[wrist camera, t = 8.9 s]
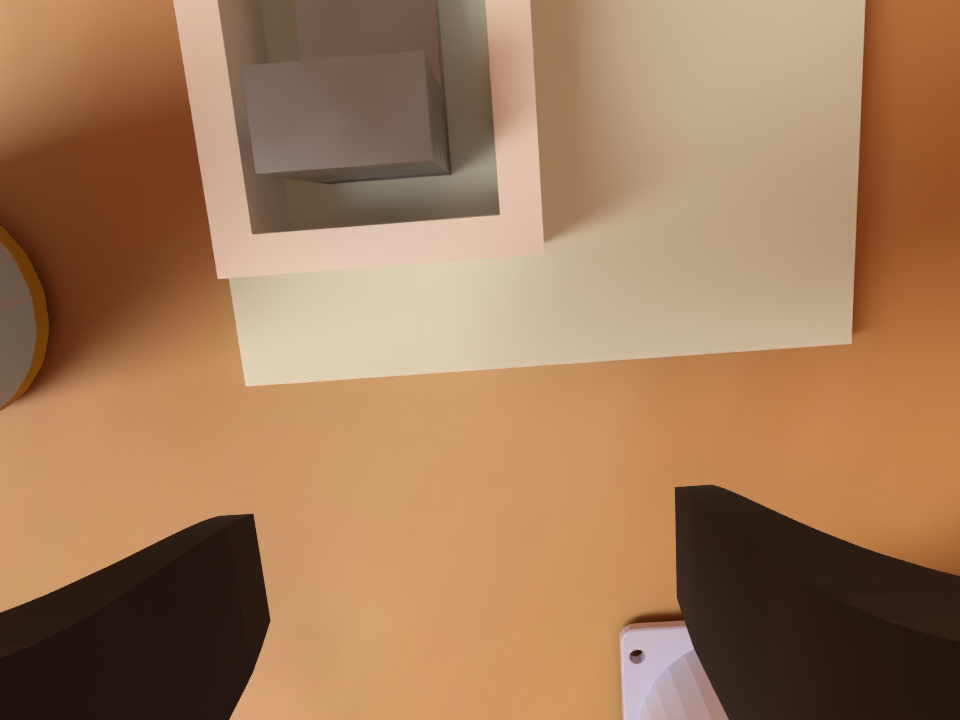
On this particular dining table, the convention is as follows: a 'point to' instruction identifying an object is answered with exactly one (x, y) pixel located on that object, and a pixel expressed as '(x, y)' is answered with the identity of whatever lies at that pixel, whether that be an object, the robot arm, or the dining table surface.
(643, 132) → the well board
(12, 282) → the bottle
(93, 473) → the dining table surface
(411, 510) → the dining table surface
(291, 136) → the bracket
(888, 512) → the dining table surface
